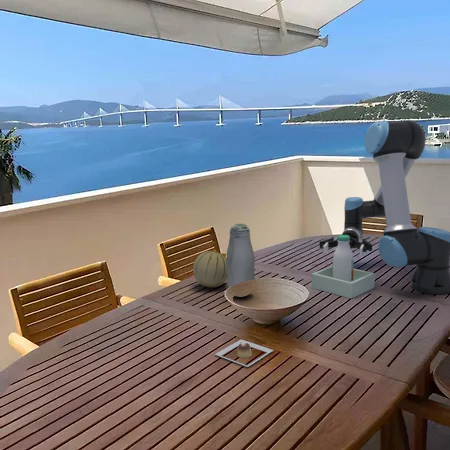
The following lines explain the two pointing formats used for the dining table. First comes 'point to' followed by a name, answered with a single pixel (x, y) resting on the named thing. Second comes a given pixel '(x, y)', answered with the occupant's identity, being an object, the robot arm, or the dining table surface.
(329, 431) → the dining table surface
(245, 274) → the glass bottle
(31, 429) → the dining table surface
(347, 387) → the dining table surface
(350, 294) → the tote
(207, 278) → the cantaloupe
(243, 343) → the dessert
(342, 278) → the milk bottle
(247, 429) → the dining table surface
